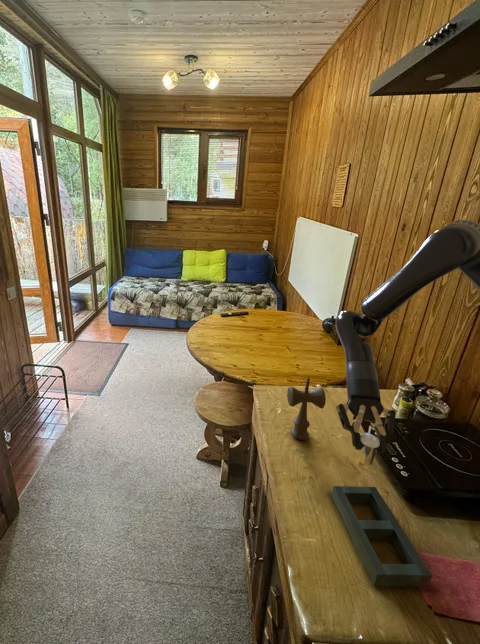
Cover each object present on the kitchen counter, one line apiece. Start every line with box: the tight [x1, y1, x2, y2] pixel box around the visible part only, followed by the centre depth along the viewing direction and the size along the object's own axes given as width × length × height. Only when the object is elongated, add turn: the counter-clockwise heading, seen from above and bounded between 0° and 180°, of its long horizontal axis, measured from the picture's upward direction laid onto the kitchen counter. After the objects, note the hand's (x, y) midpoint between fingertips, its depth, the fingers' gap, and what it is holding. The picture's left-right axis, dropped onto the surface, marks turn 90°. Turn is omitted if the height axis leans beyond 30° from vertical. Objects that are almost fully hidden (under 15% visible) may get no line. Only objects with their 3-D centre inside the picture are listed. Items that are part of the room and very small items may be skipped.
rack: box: [330, 485, 433, 587], centre depth 64 cm, size 10×18×3 cm, turn 0°
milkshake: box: [355, 425, 380, 472], centre depth 76 cm, size 4×5×10 cm
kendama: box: [286, 376, 327, 441], centre depth 89 cm, size 6×10×20 cm, turn 88°
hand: (369, 450), depth 74 cm, fingers closed on milkshake, 4 cm apart
